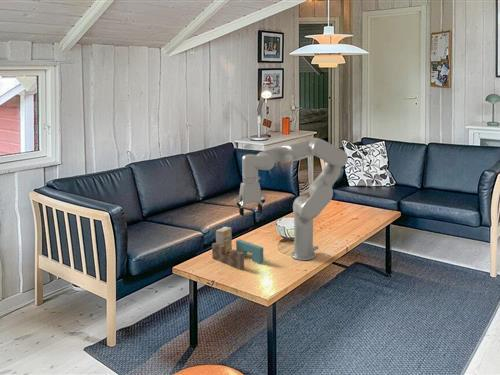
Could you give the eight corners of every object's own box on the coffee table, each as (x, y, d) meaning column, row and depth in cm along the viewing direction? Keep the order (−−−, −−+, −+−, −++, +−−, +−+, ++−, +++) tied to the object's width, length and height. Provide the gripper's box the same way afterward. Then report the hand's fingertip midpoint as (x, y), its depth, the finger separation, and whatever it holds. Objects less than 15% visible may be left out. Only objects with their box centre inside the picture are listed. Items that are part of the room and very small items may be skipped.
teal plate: (236, 255, 264) (236, 240, 262) (240, 253, 266) (239, 239, 264) (259, 264, 251) (259, 248, 249) (263, 262, 252) (263, 247, 251)
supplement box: (223, 255, 264) (223, 231, 261) (216, 254, 266) (215, 230, 263) (232, 250, 271) (231, 227, 268) (225, 249, 273) (224, 226, 270)
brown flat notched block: (212, 258, 260) (211, 243, 258) (216, 257, 261) (215, 242, 260) (240, 269, 244) (239, 254, 242) (244, 268, 245) (243, 252, 244)
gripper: (262, 177, 252) (262, 210, 256) (230, 180, 245) (231, 214, 249) (269, 179, 245) (269, 213, 249) (237, 183, 238) (237, 218, 242)
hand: (250, 214), depth 249 cm, fingers open, 9 cm apart
